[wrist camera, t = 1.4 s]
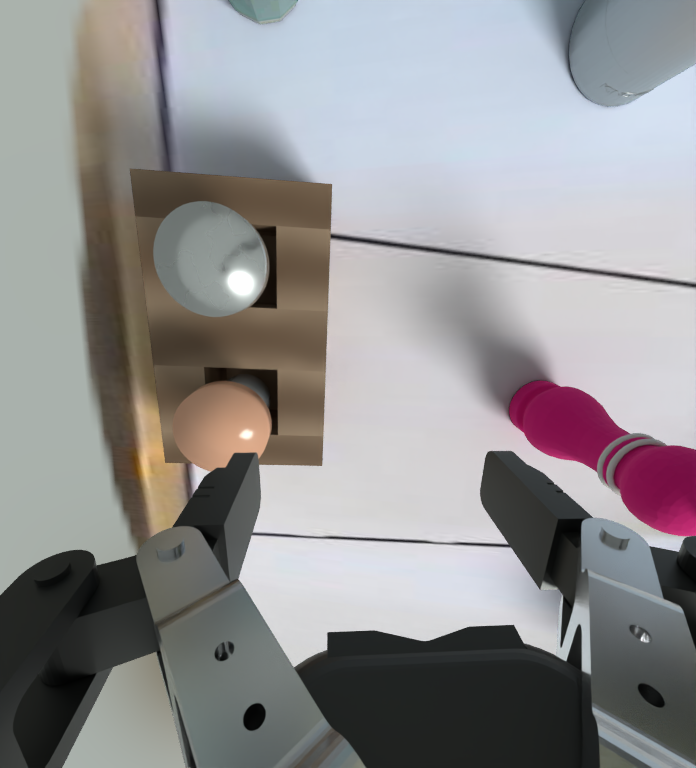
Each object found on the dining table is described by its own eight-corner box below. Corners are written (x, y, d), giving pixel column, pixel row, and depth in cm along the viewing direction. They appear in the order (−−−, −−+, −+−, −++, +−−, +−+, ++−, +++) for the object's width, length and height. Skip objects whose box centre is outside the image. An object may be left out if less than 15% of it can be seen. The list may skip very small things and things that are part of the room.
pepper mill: (496, 431, 38) (662, 579, 19) (513, 372, 36) (718, 471, 17) (554, 437, 39) (770, 586, 20) (574, 379, 37) (837, 483, 18)
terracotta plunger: (206, 361, 28) (167, 386, 22) (281, 364, 29) (267, 389, 22) (211, 429, 30) (177, 472, 23) (282, 431, 31) (268, 473, 24)
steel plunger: (196, 219, 25) (146, 197, 18) (281, 225, 26) (263, 205, 19) (202, 306, 27) (159, 314, 20) (281, 310, 27) (265, 319, 21)
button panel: (174, 194, 30) (129, 168, 23) (331, 205, 30) (332, 184, 24) (195, 429, 36) (165, 462, 30) (323, 432, 37) (322, 465, 30)
